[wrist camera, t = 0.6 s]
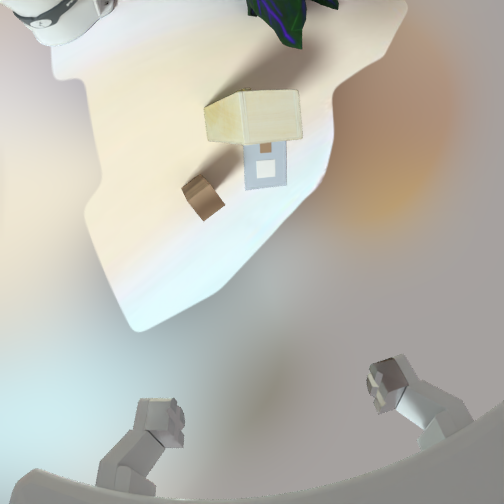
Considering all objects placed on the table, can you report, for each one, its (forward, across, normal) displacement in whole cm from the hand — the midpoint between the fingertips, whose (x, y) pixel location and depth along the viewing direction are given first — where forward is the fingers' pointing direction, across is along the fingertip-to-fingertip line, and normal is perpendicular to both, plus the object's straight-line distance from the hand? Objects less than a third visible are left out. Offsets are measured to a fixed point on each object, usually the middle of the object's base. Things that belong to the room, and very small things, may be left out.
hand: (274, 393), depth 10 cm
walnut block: (+46, +8, +2) cm, 47 cm away
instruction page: (+50, -6, -1) cm, 50 cm away
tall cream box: (+48, 0, -10) cm, 49 cm away
